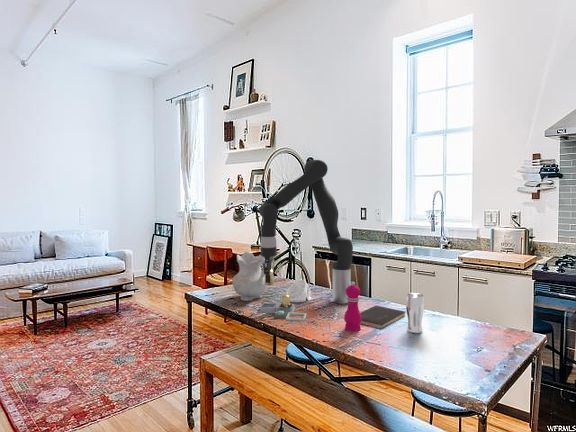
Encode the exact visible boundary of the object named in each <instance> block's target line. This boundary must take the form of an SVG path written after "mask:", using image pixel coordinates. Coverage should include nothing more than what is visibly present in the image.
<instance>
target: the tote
mask: <svg viewBox="0 0 576 432" xmlns="http://www.w3.org/2000/svg"><path fill="white" fill-rule="evenodd" d="M291 315H292V316H303V318H300V317H290V316H291ZM306 317H307V312H293V313H292V312H289V313H287V317H286V319H285V321H301V322H305V321H306V320H305V319H306Z"/></svg>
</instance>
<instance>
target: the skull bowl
mask: <svg viewBox="0 0 576 432" xmlns="http://www.w3.org/2000/svg"><path fill="white" fill-rule="evenodd" d="M311 293H312V291H311V289H310V285H308V283H307V281H306V280H305V279H297V280H295V281H294V282H292V284H291V285H290V286H289V287H288V289H287V290H286V293H285V294H288V295H290V303H302V302H303V303H304V302H306V301H309V300H312V297H311Z"/></svg>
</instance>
